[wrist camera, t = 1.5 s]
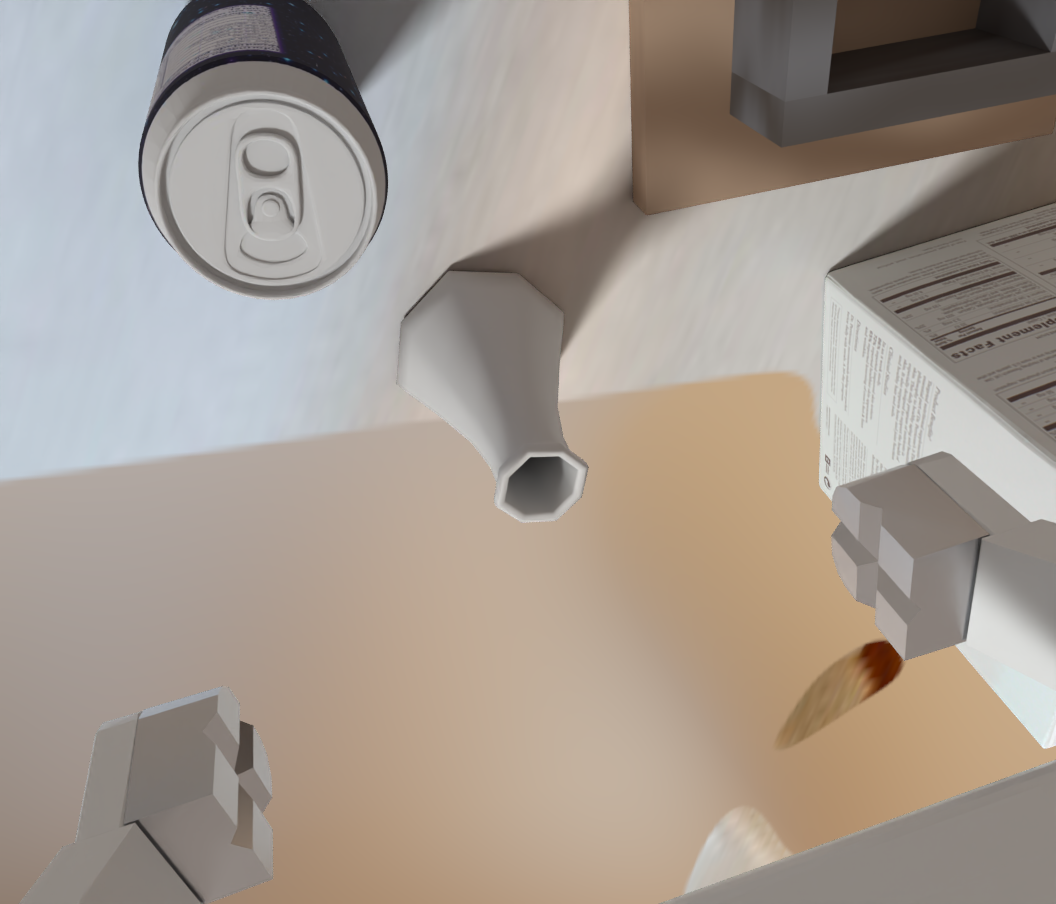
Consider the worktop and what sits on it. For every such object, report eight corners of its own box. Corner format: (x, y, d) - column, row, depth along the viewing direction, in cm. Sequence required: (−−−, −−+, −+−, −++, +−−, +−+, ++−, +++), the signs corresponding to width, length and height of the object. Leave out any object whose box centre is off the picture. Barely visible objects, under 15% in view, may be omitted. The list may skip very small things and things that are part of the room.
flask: (590, 298, 38) (682, 428, 30) (515, 433, 41) (581, 582, 33) (435, 239, 35) (494, 369, 27) (367, 391, 38) (402, 547, 30)
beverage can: (178, 158, 30) (155, 320, 21) (152, -29, 27) (111, 65, 18) (347, 159, 32) (395, 310, 23) (341, -19, 29) (395, 73, 19)
